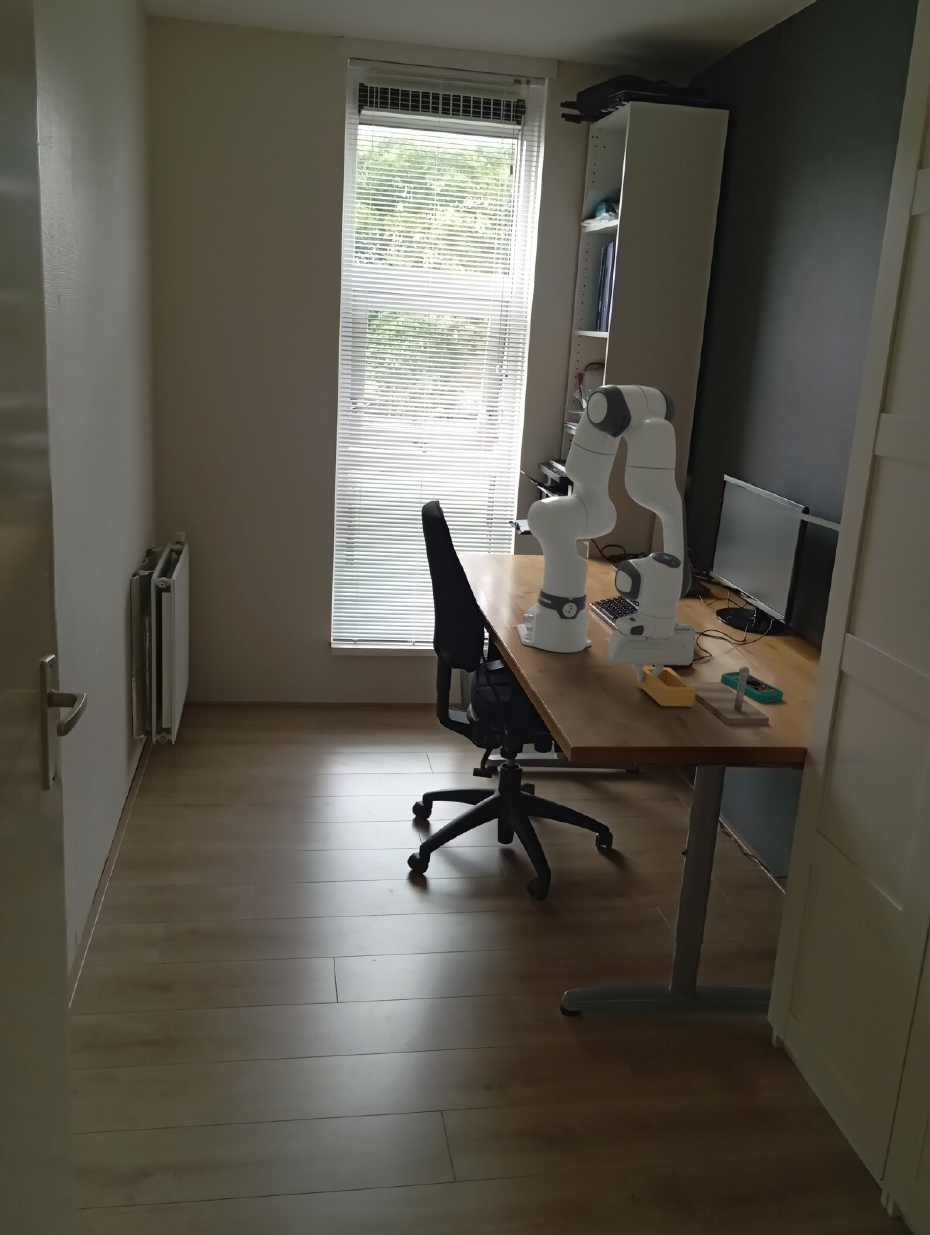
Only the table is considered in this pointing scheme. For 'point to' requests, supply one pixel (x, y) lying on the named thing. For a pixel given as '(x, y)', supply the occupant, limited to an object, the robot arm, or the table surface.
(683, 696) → the orange rectangular frame
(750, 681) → the digital multimeter
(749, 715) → the keeper board
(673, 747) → the table surface
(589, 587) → the table surface
